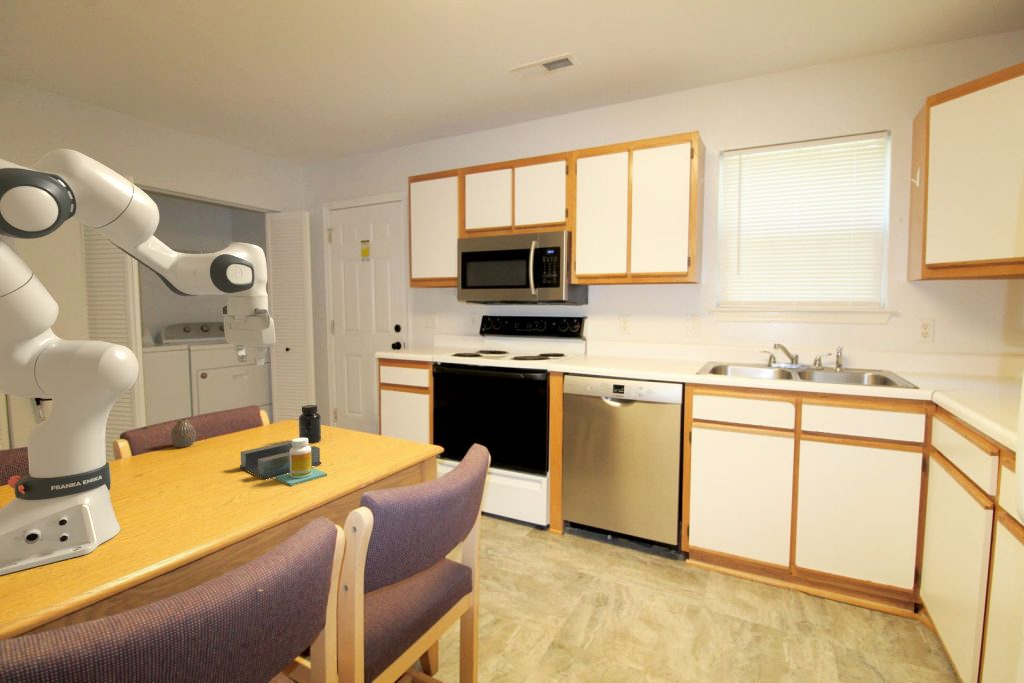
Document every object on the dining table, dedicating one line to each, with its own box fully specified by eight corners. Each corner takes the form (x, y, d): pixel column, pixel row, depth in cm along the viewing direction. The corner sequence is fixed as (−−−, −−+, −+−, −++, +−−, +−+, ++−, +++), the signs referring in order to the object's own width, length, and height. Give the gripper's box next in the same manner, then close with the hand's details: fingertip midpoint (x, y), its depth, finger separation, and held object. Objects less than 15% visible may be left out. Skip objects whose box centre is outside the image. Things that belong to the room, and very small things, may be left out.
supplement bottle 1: (308, 437, 170) (307, 403, 169) (325, 439, 168) (324, 404, 167) (294, 443, 164) (293, 407, 163) (312, 444, 162) (311, 408, 161)
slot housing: (265, 479, 129) (264, 462, 129) (239, 468, 138) (239, 451, 138) (321, 464, 142) (321, 448, 141) (294, 454, 151) (294, 439, 150)
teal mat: (290, 486, 125) (290, 483, 125) (275, 479, 130) (275, 476, 130) (326, 475, 133) (326, 473, 133) (311, 469, 138) (311, 467, 137)
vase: (187, 449, 156) (185, 422, 155) (165, 449, 156) (164, 422, 155) (201, 443, 163) (200, 417, 162) (180, 443, 163) (179, 417, 162)
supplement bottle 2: (315, 475, 131) (314, 439, 130) (295, 480, 127) (294, 443, 127) (306, 470, 135) (305, 435, 134) (286, 475, 131) (285, 439, 130)
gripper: (281, 309, 119) (283, 365, 120) (243, 308, 132) (245, 359, 133) (255, 309, 114) (256, 368, 115) (218, 308, 127) (220, 361, 128)
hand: (250, 363), depth 124 cm, fingers open, 8 cm apart
